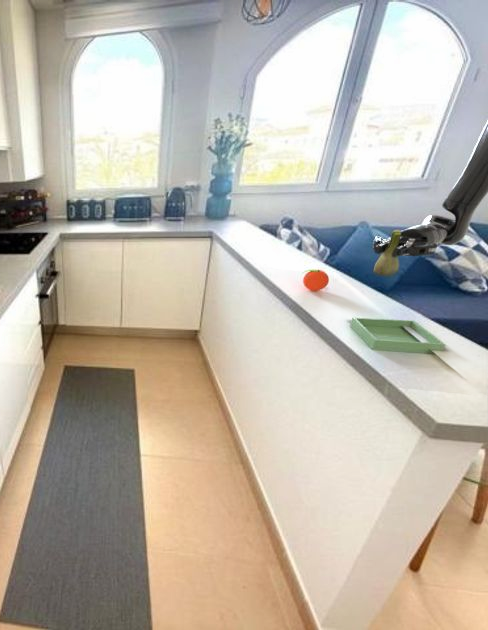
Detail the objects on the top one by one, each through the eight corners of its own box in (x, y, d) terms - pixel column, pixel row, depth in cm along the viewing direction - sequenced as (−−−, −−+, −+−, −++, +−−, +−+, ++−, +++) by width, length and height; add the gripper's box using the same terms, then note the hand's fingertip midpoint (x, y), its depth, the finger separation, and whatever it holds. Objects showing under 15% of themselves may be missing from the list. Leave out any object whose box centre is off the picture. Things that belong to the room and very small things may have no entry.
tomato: (295, 291, 114) (300, 270, 111) (298, 284, 119) (303, 264, 116) (325, 295, 110) (330, 274, 107) (326, 288, 115) (332, 268, 112)
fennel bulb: (379, 270, 97) (393, 227, 91) (401, 275, 93) (417, 230, 87) (367, 274, 95) (381, 231, 89) (388, 279, 90) (404, 234, 85)
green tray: (410, 329, 88) (413, 320, 87) (441, 354, 78) (446, 344, 77) (349, 325, 92) (352, 317, 91) (371, 349, 82) (375, 340, 80)
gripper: (389, 222, 100) (359, 233, 93) (456, 230, 89) (427, 242, 82) (381, 248, 104) (351, 259, 97) (445, 257, 92) (416, 271, 85)
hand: (386, 251), depth 89 cm, fingers closed on fennel bulb, 3 cm apart
